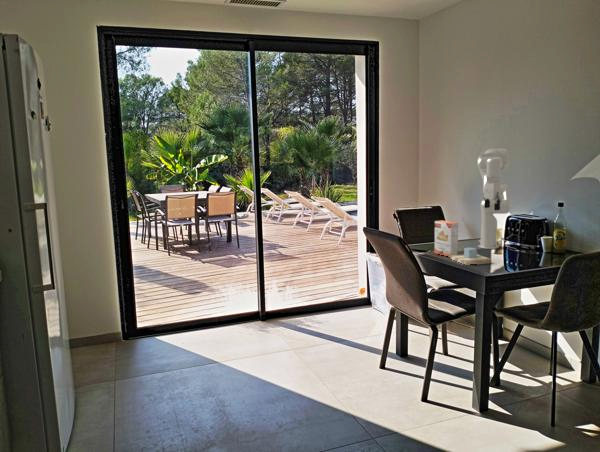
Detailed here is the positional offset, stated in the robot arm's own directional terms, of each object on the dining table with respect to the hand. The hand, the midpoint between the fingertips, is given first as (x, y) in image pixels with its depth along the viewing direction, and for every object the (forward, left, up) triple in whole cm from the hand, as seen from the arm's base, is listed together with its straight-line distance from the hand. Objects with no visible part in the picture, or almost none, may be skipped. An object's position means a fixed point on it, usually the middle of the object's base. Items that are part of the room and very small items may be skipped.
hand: (491, 208), depth 283 cm
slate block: (+6, -18, -26) cm, 32 cm away
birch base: (+6, -18, -29) cm, 34 cm away
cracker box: (-12, -23, -29) cm, 39 cm away
